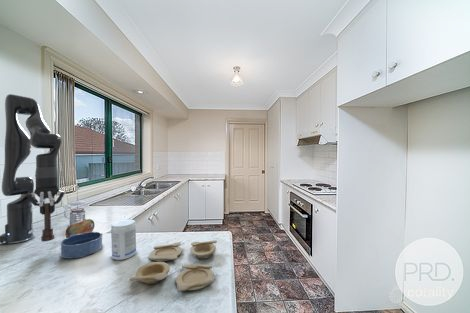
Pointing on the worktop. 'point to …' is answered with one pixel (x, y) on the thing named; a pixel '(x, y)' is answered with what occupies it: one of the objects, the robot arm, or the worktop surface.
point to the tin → (80, 227)
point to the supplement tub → (123, 239)
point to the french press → (76, 211)
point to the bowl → (81, 244)
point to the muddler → (47, 224)
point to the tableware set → (187, 278)
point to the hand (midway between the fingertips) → (47, 213)
